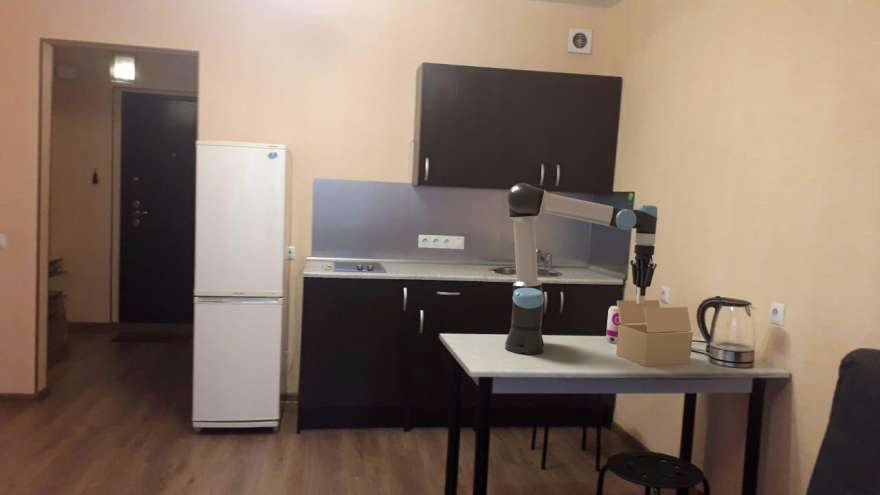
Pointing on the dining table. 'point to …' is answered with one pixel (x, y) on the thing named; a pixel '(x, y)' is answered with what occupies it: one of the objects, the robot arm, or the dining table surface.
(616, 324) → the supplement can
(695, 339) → the dining table surface
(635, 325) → the carton
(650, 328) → the near flap
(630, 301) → the far flap
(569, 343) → the dining table surface
